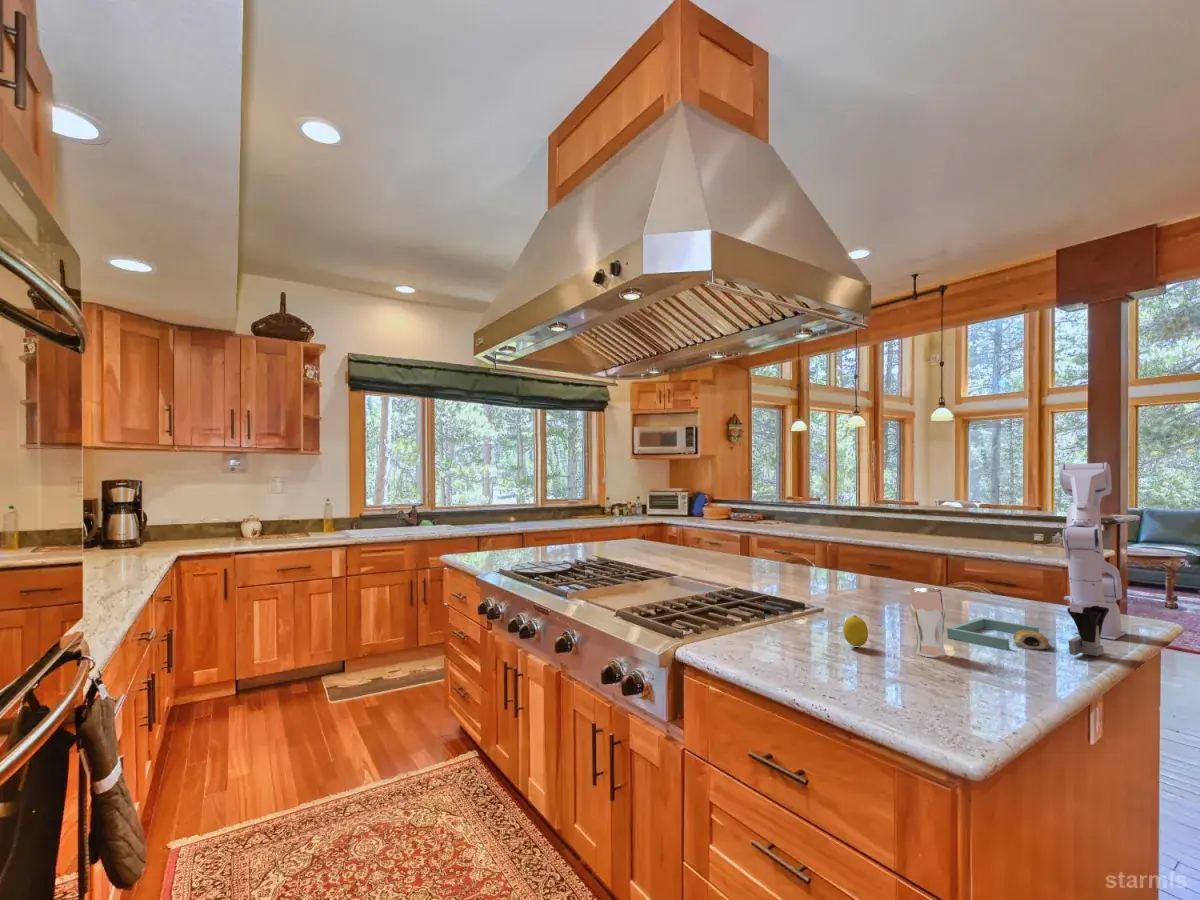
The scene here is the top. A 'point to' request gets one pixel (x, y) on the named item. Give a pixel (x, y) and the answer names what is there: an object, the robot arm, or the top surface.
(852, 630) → the lemon
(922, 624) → the beer glass
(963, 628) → the bay
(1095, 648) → the pusher
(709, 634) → the top surface
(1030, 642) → the pastry
